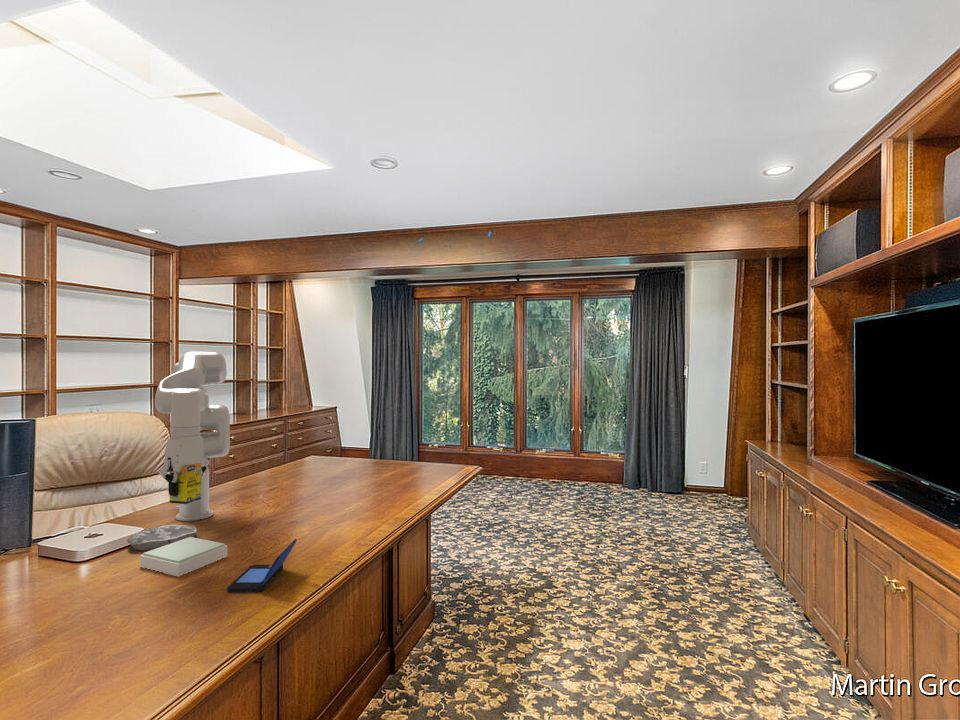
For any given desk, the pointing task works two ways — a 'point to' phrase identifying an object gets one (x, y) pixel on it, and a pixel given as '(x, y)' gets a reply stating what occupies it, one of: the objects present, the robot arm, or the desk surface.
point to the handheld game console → (259, 574)
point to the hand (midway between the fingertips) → (185, 492)
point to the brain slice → (161, 536)
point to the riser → (183, 556)
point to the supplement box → (188, 485)
